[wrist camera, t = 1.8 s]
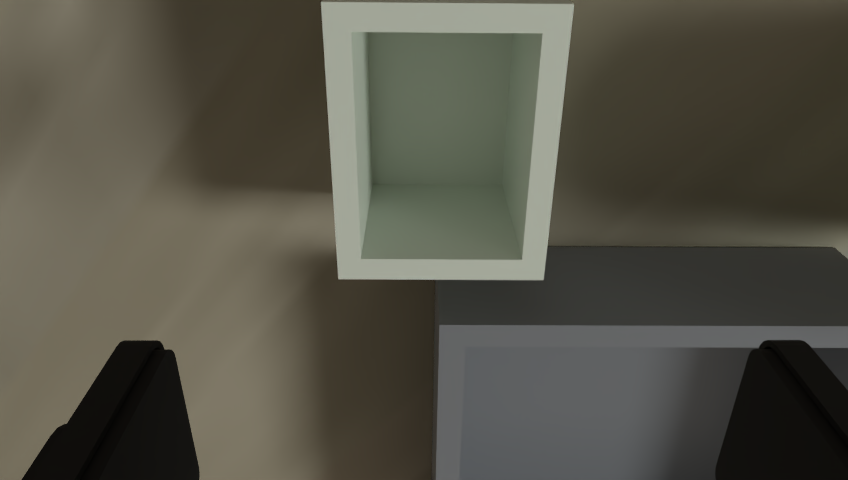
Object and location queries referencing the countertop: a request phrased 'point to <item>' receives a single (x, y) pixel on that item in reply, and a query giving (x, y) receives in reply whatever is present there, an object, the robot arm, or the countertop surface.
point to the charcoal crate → (619, 358)
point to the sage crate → (444, 134)
